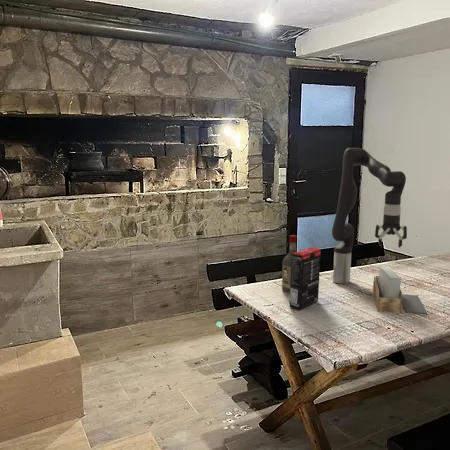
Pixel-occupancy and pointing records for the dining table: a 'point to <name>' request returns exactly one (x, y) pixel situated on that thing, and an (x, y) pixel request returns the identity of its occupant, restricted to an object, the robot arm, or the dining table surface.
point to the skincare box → (388, 283)
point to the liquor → (288, 265)
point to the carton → (386, 300)
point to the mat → (413, 304)
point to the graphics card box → (304, 278)
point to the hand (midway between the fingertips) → (389, 246)
